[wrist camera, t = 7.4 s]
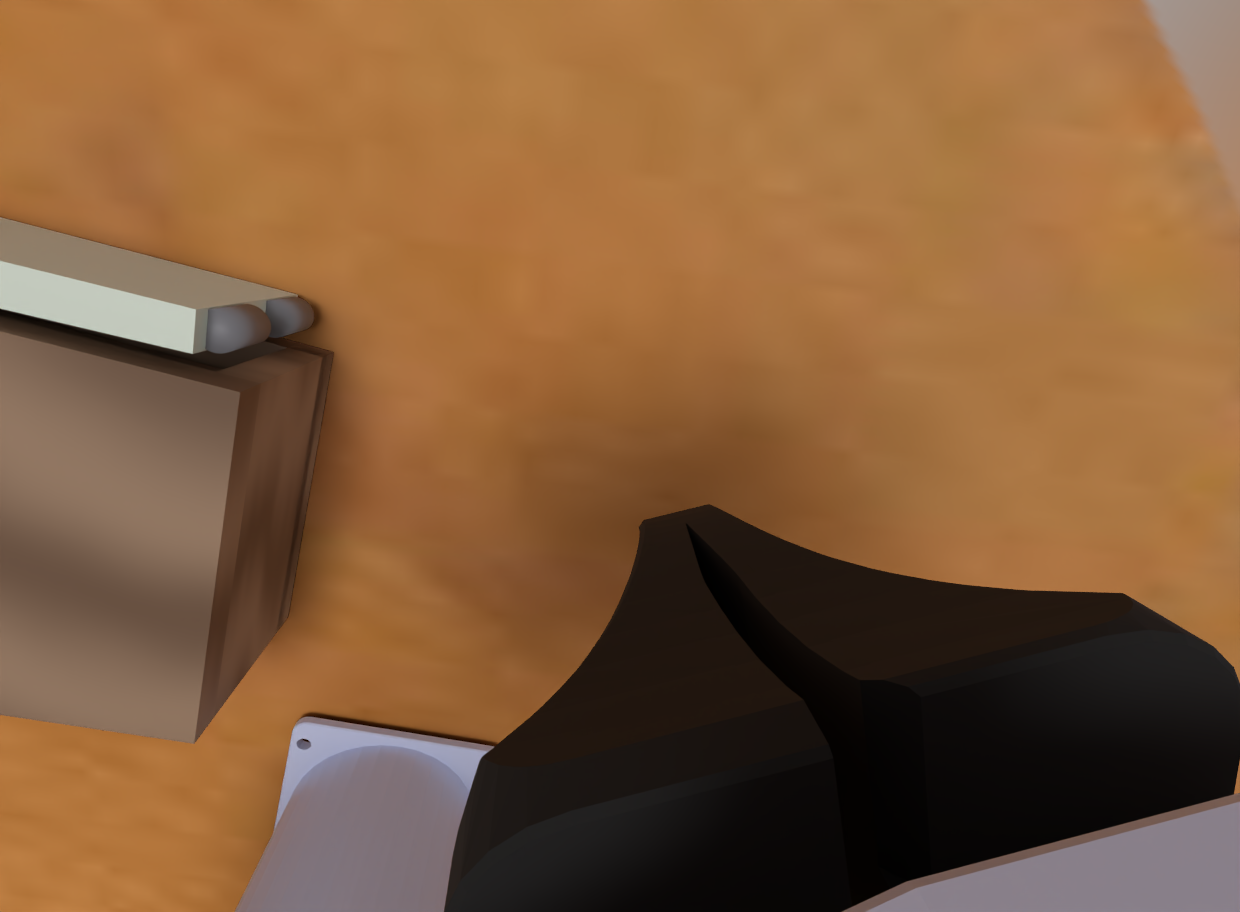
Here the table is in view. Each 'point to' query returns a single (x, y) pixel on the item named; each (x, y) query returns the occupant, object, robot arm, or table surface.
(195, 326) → the cabinet door
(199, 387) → the walnut cabinet
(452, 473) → the table surface
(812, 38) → the table surface
